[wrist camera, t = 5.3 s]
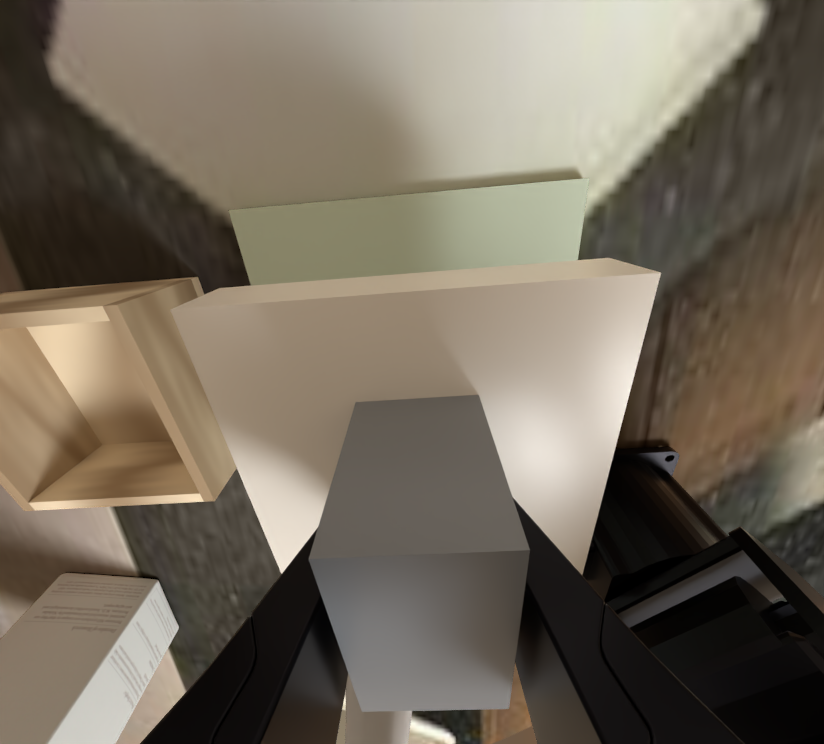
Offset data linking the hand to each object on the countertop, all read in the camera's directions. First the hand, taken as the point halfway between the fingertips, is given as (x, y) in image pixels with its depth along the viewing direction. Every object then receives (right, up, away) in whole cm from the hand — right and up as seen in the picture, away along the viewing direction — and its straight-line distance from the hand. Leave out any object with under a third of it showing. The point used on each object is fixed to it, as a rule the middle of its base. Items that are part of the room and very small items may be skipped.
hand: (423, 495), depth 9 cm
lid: (0, +1, +2) cm, 3 cm away
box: (-14, +3, +8) cm, 17 cm away
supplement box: (-23, -15, +18) cm, 33 cm away
